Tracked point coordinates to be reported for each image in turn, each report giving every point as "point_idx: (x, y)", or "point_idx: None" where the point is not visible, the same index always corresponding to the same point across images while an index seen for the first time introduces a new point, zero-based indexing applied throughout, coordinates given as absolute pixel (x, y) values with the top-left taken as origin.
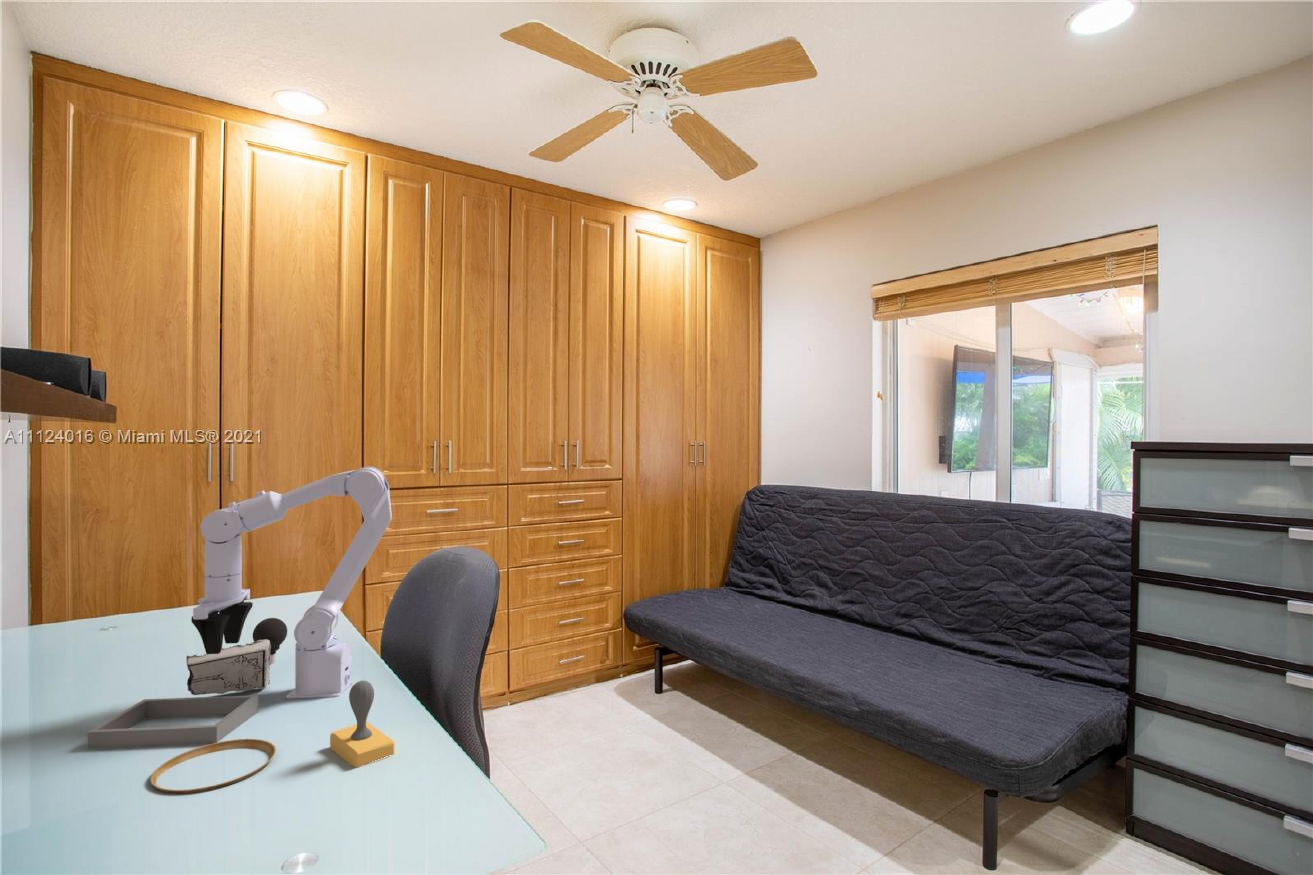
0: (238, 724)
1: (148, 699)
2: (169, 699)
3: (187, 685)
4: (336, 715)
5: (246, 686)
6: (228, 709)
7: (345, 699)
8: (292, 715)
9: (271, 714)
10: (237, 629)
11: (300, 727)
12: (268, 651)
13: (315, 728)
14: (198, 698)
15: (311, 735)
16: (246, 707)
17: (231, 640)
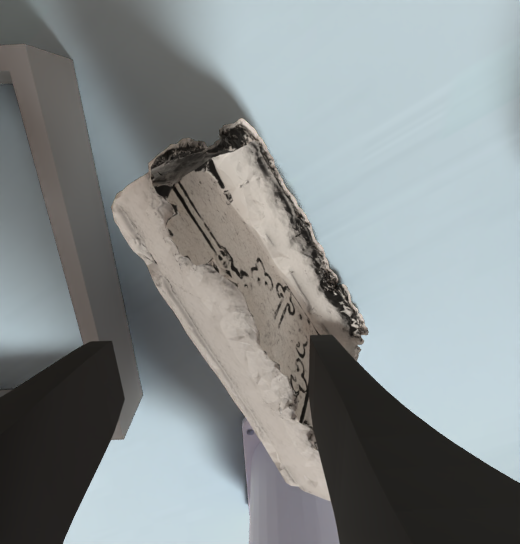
0: None
1: (25, 69)
2: (43, 172)
3: (228, 124)
4: (155, 533)
5: (294, 307)
6: None
7: (245, 522)
8: (149, 462)
9: (151, 419)
10: (328, 473)
11: (88, 499)
12: None
13: (88, 523)
14: (72, 280)
15: None
16: None
17: (312, 378)
